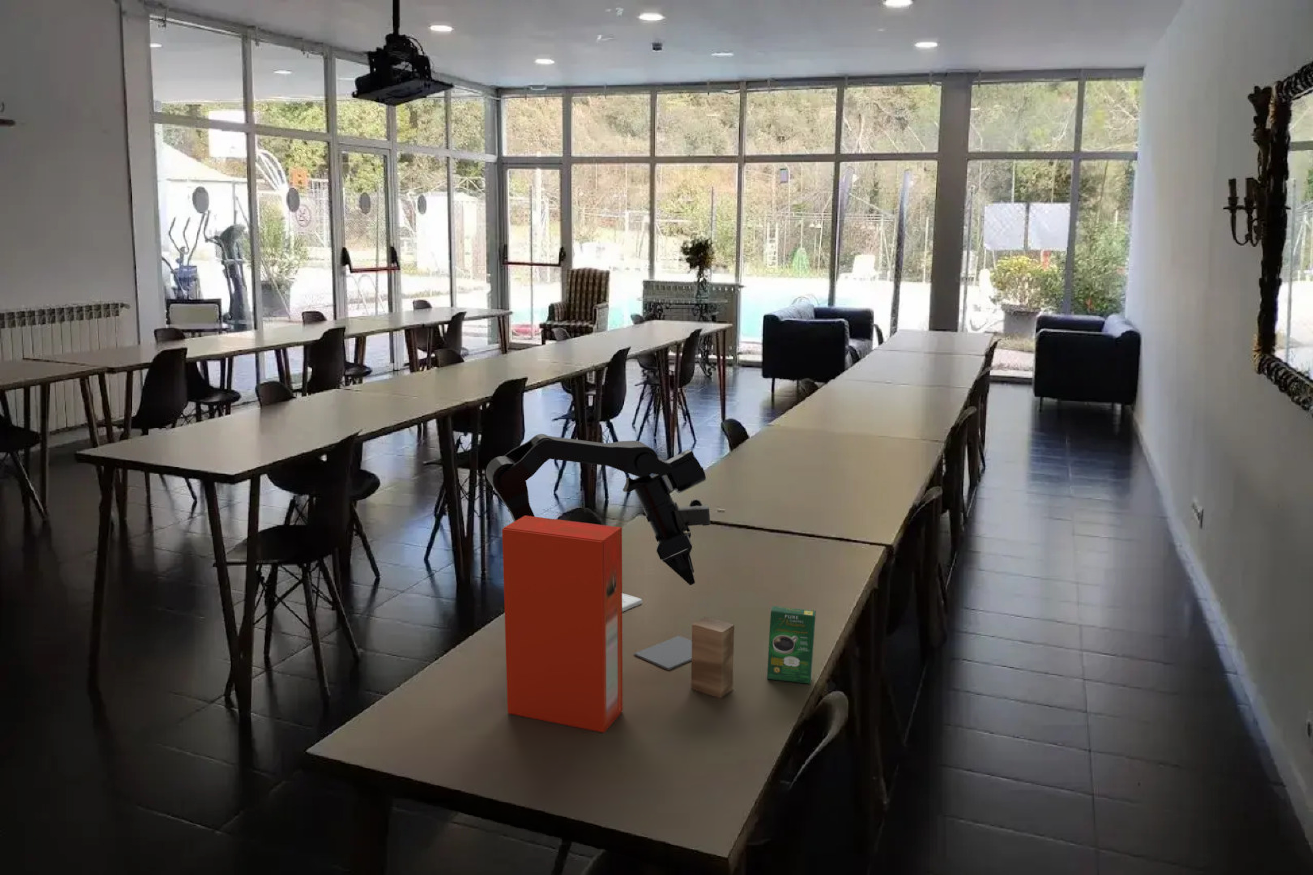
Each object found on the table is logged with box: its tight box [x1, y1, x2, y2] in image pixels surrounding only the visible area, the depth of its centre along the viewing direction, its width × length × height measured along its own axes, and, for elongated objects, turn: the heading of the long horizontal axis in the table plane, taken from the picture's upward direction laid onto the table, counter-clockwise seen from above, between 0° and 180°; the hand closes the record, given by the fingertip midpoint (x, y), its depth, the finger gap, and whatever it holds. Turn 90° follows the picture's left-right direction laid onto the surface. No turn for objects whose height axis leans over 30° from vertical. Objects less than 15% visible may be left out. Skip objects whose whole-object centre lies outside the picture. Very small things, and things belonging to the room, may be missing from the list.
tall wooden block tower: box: [690, 616, 735, 699], centre depth 176 cm, size 4×6×12 cm, turn 55°
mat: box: [633, 635, 692, 671], centre depth 192 cm, size 12×9×1 cm
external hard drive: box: [622, 592, 643, 613], centre depth 215 cm, size 2×8×12 cm
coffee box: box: [766, 605, 816, 685], centre depth 180 cm, size 8×3×13 cm, turn 77°
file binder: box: [501, 516, 624, 733], centre depth 165 cm, size 8×17×32 cm, turn 69°
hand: (692, 578), depth 193 cm, fingers open, 9 cm apart
